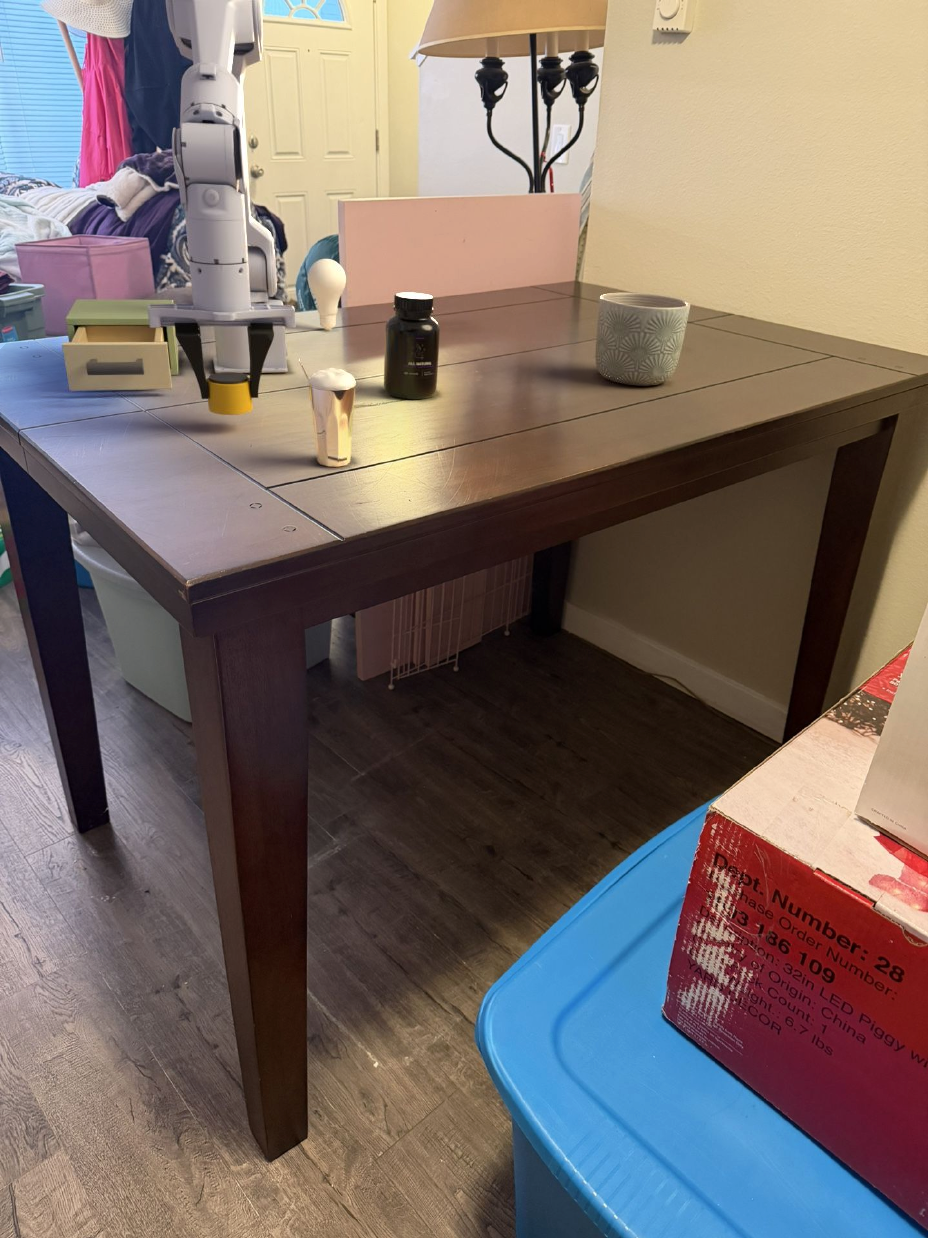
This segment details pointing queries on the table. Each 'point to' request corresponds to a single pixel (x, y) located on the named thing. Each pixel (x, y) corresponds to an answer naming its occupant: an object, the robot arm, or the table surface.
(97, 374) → the drawer
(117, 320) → the cabinet
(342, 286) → the lightbulb
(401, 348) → the supplement bottle
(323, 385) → the milkshake
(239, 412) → the cap
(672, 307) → the planter
